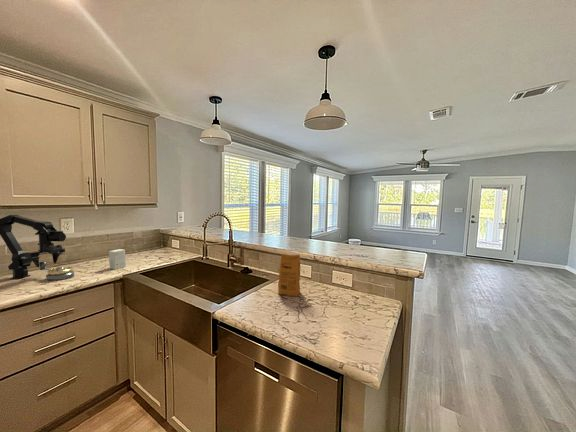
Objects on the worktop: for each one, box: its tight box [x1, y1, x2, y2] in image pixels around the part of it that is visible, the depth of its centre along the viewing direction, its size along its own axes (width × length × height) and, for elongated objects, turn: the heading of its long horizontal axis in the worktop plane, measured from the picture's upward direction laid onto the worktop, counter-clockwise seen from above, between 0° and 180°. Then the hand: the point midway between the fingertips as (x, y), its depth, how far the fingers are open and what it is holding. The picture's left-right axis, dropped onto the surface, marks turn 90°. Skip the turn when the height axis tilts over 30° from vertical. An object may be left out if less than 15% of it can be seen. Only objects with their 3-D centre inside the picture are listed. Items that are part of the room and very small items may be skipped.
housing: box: [45, 270, 75, 282], centre depth 157 cm, size 15×18×3 cm
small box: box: [108, 248, 127, 270], centre depth 179 cm, size 8×6×13 cm
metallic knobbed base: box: [39, 260, 73, 276], centre depth 154 cm, size 18×11×7 cm, turn 90°
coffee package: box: [277, 253, 301, 297], centre depth 134 cm, size 10×12×22 cm
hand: (46, 265), depth 156 cm, fingers open, 9 cm apart
